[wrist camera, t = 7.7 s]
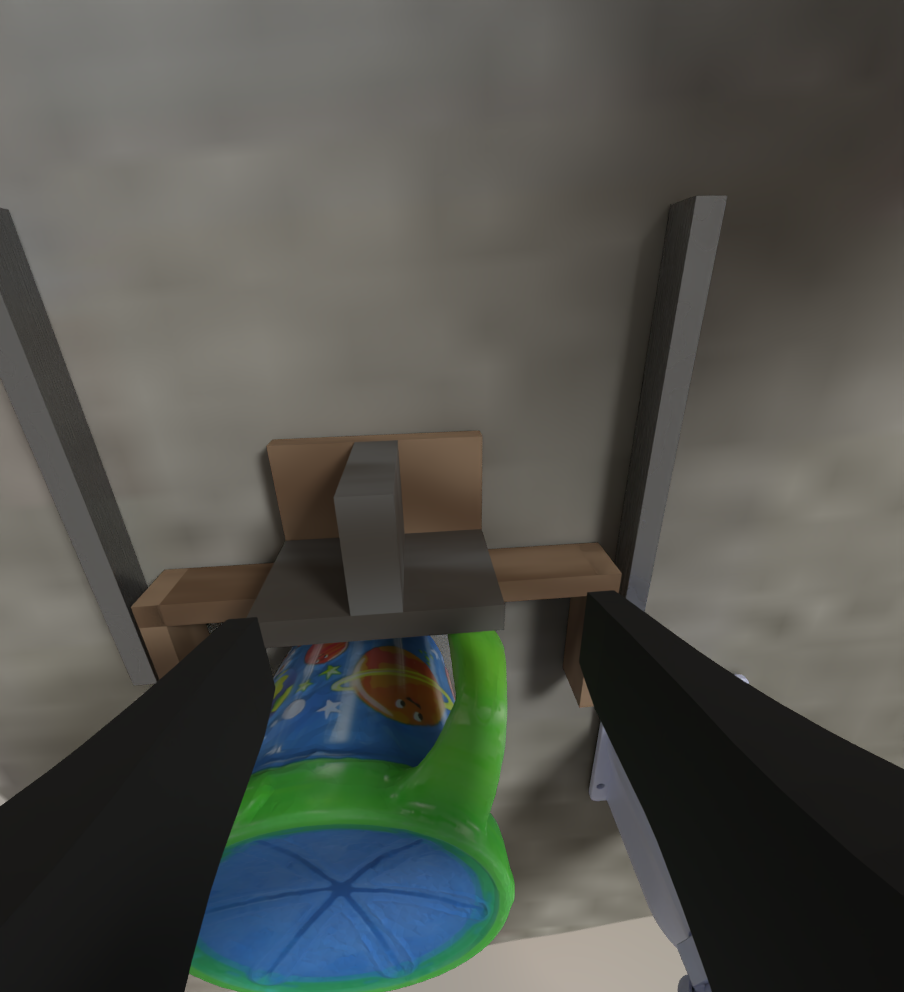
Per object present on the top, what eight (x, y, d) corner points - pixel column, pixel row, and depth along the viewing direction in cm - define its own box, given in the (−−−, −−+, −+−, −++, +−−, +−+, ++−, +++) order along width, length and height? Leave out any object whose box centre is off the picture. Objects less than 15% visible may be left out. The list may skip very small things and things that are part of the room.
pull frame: (581, 665, 23) (631, 773, 18) (207, 696, 22) (144, 823, 17) (613, 424, 18) (699, 477, 13) (121, 446, 17) (-12, 515, 11)
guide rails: (623, 623, 22) (637, 644, 21) (151, 660, 21) (133, 685, 19) (698, 204, 15) (727, 195, 14) (-27, 209, 13) (-77, 200, 12)
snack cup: (350, 784, 26) (317, 1058, 16) (184, 703, 22) (22, 995, 13) (551, 621, 22) (654, 856, 13) (390, 491, 18) (371, 688, 9)
